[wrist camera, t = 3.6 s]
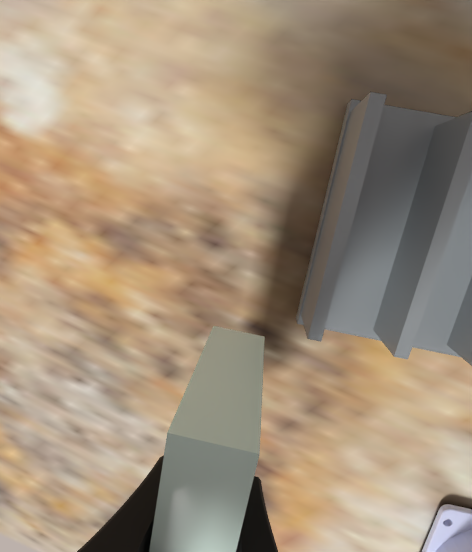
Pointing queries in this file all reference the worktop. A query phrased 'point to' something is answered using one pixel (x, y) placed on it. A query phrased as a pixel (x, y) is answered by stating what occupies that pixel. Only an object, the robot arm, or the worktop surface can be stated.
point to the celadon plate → (212, 448)
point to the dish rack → (395, 233)
